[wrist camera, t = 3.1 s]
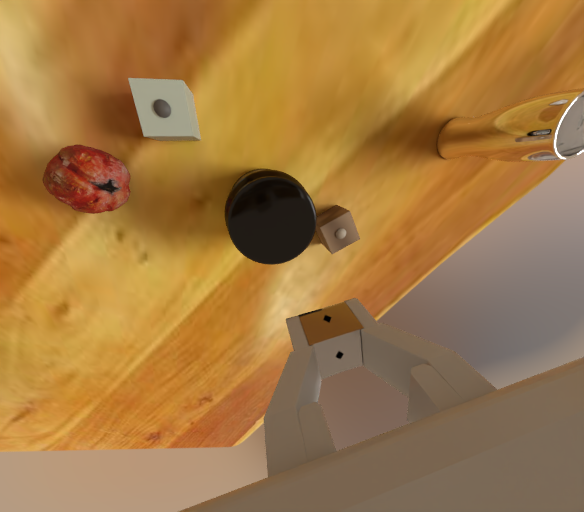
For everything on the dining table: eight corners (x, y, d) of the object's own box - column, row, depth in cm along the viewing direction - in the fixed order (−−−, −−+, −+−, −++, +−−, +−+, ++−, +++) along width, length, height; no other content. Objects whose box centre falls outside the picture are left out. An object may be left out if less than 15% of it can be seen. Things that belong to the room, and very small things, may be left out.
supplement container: (228, 234, 34) (221, 268, 23) (229, 163, 30) (222, 163, 19) (292, 238, 36) (313, 270, 26) (301, 173, 32) (330, 178, 22)
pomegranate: (95, 201, 30) (140, 230, 27) (15, 187, 23) (63, 224, 20) (109, 150, 29) (157, 175, 26) (28, 119, 22) (82, 148, 19)
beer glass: (479, 130, 36) (622, 110, 22) (451, 169, 37) (568, 173, 24) (454, 104, 33) (600, 64, 20) (426, 148, 35) (541, 138, 21)
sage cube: (193, 94, 26) (182, 79, 21) (201, 140, 28) (192, 135, 24) (148, 93, 25) (126, 77, 21) (160, 140, 27) (143, 136, 23)
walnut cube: (336, 204, 36) (350, 211, 31) (346, 229, 38) (360, 239, 33) (310, 219, 36) (320, 227, 31) (321, 243, 38) (332, 254, 33)
